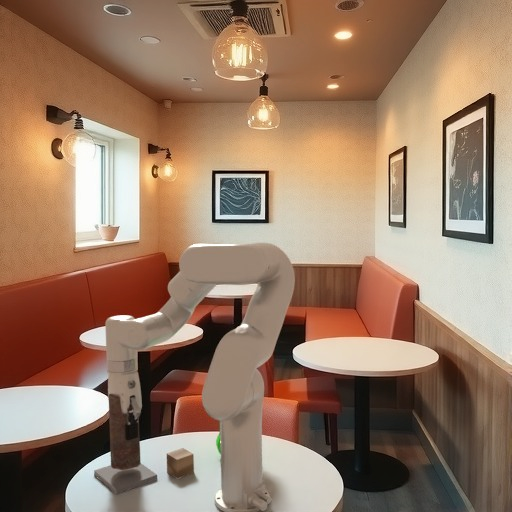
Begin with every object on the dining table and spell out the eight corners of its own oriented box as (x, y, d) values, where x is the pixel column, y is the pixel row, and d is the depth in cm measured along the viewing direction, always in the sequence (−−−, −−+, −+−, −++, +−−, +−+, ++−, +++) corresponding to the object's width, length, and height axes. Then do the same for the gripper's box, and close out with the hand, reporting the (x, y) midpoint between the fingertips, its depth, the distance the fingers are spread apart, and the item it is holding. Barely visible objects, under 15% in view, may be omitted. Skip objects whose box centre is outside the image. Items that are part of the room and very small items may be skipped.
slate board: (157, 479, 132) (157, 474, 132) (116, 494, 125) (116, 489, 125) (133, 462, 142) (133, 457, 142) (94, 475, 135) (94, 470, 135)
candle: (132, 475, 129) (129, 395, 128) (105, 473, 130) (102, 394, 129) (145, 462, 136) (142, 386, 135) (119, 460, 138) (116, 385, 137)
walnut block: (193, 472, 136) (193, 453, 135) (177, 479, 132) (176, 459, 132) (183, 466, 139) (182, 447, 139) (167, 472, 136) (166, 453, 136)
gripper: (152, 368, 128) (154, 440, 129) (120, 356, 141) (123, 421, 142) (124, 374, 123) (126, 449, 124) (94, 361, 136) (96, 428, 137)
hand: (124, 433), depth 133 cm, fingers closed on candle, 7 cm apart
